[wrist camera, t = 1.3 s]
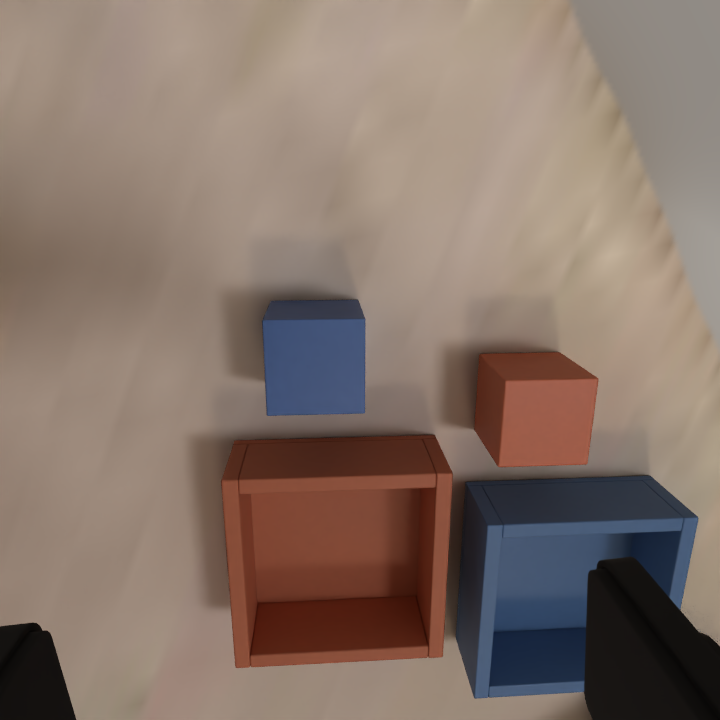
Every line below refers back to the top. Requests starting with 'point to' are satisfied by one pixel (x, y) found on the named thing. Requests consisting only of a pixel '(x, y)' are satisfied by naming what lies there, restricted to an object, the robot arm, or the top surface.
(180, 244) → the top surface
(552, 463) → the terracotta block
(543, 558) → the blue bin
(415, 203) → the top surface
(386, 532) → the terracotta bin
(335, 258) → the top surface
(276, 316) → the blue block
